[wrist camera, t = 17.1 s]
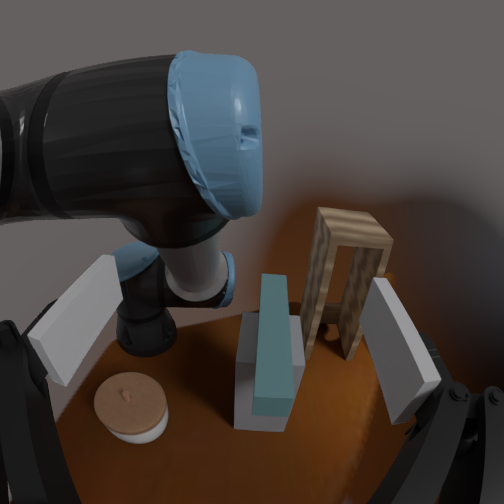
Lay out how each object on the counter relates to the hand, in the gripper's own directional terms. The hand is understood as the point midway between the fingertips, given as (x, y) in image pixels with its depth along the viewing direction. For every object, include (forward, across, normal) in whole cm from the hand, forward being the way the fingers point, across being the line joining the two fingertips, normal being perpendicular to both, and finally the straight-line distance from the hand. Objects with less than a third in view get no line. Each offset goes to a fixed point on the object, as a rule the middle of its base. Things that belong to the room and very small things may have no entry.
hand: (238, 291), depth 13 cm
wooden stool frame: (+39, +19, -40) cm, 59 cm away
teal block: (+17, +4, -20) cm, 26 cm away
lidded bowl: (+10, -18, -40) cm, 45 cm away
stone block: (+18, +4, -40) cm, 44 cm away
